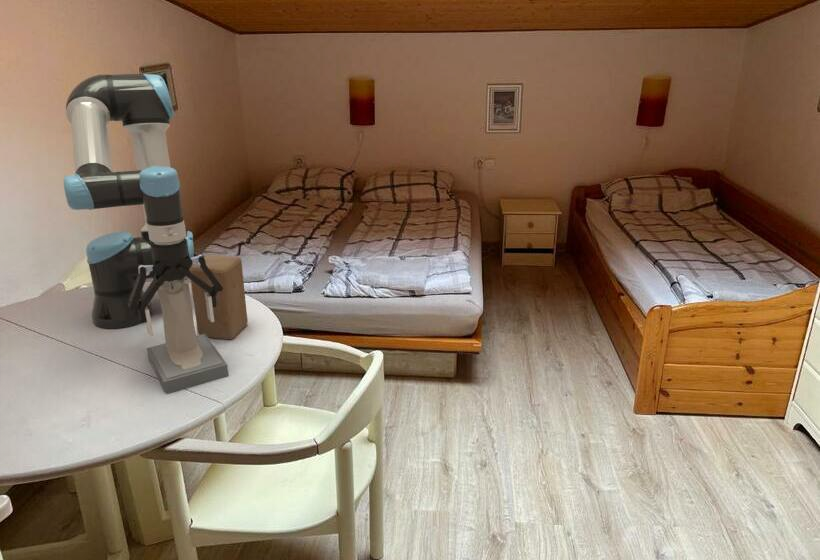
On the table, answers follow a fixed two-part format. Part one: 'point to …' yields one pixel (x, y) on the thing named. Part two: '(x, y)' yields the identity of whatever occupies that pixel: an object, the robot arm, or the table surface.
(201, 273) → the wooden block
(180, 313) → the candle
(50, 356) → the table surface
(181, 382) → the grey flat block
